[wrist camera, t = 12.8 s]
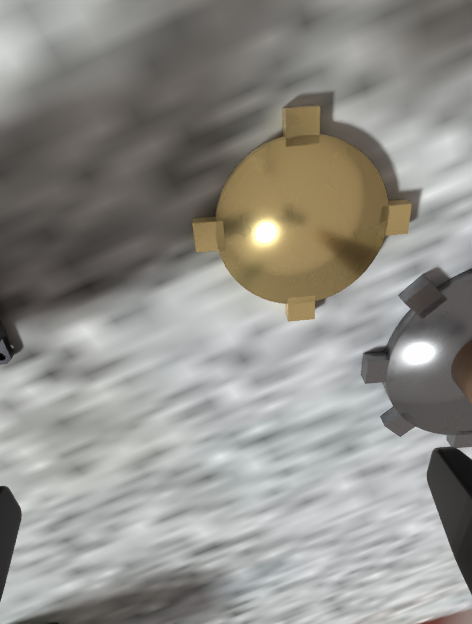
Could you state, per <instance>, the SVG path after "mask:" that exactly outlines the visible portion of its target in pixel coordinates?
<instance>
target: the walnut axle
mask: <svg viewBox="0 0 472 624" xmlns="http://www.w3.org/2000/svg"><path fill="white" fill-rule="evenodd" d="M451 376H452V378H453V380H454V382H455V383H456V385H457V386H458V387H459V388H460V390H461V391H462V392H463V394H464V395H465V396H466V397H467V399H468V400H469V401H470V403H471V404H472V340H471V341H469V342H468V343H467V344H465V345H464V346H463V347H462V348H461V349H460V351H459V352H458V353H457V355H456V356H455V358H454V360H453V363H452V366H451Z"/></svg>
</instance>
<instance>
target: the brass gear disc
mask: <svg viewBox="0 0 472 624" xmlns="http://www.w3.org/2000/svg"><path fill="white" fill-rule="evenodd" d="M282 109H283V136H281V137H277V138H274V139H272V140H270V141H268V142H266V143H264V144H262V145H261V146H259V147H257V148H256V149H254V150H253V151H252V152H250V153H249V154H248V155H247V156H246V157H244V158H243V159H242V160H241V162H240V163H239V164H238V165H237V166H236V167H235V168H234V170H233V171H232V173H231V174H230V175H229V177H228V179H227V181H226V182H225V184H224V186H223V188H222V191H221V194H220V196H219V200H218V204H217V208H216V216H212V217H201V218H193V222H192V226H193V233H194V241H195V248H196V252H207V251H218V250H219V253H220V256H221V258H222V260H223V262H224V264H225V266H226V268H227V269H228V271H229V272H230V274H231V275H232V276H233V277H234V279H235V280H236V281H237V282H238V283H239V284H240V285H242V286H243V287H244V288H245V289H247V290H248V291H250V292H251V293H253V294H255V295H257V296H259V297H261V298H263V299H266V300H269V301H273V302H278V303H285V304H286V316H287V320H288V321H298V320H309V319H315V301H318V300H322V299H325V298H327V297H330V296H332V295H334V294H336V293H338V292H340V291H342V290H343V289H345V288H346V287H348V286H349V285H351V284H352V283H353V282H354V281H355V280H357V279H358V278H359V277H360V276H361V275H362V274H363V273H364V272H365V271H366V270H367V268H368V267H369V266H370V264H371V263H372V262H373V260H374V259H375V257H376V255H377V254H378V252H379V250H380V247H381V245H382V243H383V240H384V237H385V235H397V234H408V228H409V221H410V214H411V208H412V204H411V203H410V202H408V201H407V200H405V199H402V200H391V201H388V197H387V192H386V188H385V185H384V183H383V180H382V178H381V176H380V174H379V172H378V171H377V169H376V167H375V166H374V165H373V164H372V162H371V161H370V160H369V159H368V158H367V157H366V156H365V155H364V154H363V153H362V152H361V151H359V150H358V149H356V148H355V147H353V146H352V145H350V144H348V143H346V142H344V141H342V140H340V139H338V138H335V137H332V136H329V135H325V134H320V106H318V105H310V106H299V107H288V108H282Z"/></svg>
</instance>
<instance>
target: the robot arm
mask: <svg viewBox="0 0 472 624" xmlns="http://www.w3.org/2000/svg"><path fill="white" fill-rule="evenodd" d="M5 334H6V332H5V329H4V327H3V325H2V323H1V320H0V353H2V354H4V355H5V356H2V355H1V354H0V364H7V363H8V362H10V360H11V359H12V357H13V355H14V354H13V350H12V348H11V346H10V344H9V341H8V339H7V337H6V335H5ZM427 481H428V485H429V488H430V491H431V493H432V496H433V499H434V502H435V505H436V507H437V510H438V513H439V516H440V519H441V521H442V524H443V527H444V530H445V533H446V535H447V538H448V541H449V544H450V547H451V549H452V552H453V554H454V557H455V560H456V562H457V564H458V566H459V569H460V571H461V573H462V575H463V577H464V579H465V582H466V584H467V586H468V588H469V590H470V592H471V594H472V459H470V458H469V457H468V456H466V455H465V454H464V453H463V452H461V451H460V450H458V449H457V448H455V447H440V448H435V449H434V450H433V452H432V455H431V459H430V463H429V466H428V470H427ZM21 516H22V515H21V508H20V506H19V504H18V503H17V501H16V499H15V498H14V496H13V494H12V492H11V491H10V489H9V488H8V487H6V486H0V601H1V598H2V594H3V590H4V587H5V583H6V579H7V575H8V571H9V567H10V563H11V559H12V555H13V551H14V547H15V543H16V539H17V535H18V530H19V526H20V522H21Z"/></svg>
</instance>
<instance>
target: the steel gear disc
mask: <svg viewBox="0 0 472 624" xmlns="http://www.w3.org/2000/svg"><path fill="white" fill-rule="evenodd" d="M398 296H399V297H400V298H401V299H402V301H403V302H404V303H405V304H406V305H407V306H408V307H409V308H411V310H410V311H409V312H408V313H407V314H406V315H405V316H404V318H403V319H402V320H401V322H400V323H399V324H398V326H397V327H396V329H395V330H394V332H393V334H392V336H391V338H390V340H389V342H388V344H387V347H386V350H385V352H375V353H364V354H363V361H362V370H361V376H362V378H363V380H364V382H365V384H367V383H378V382H383V385H384V388H385V391H386V393H387V395H388V397H389V399H390V400H391V402H392V404H393V406H394V407H393V408H392V409H390V410H389V411H388V412H386V413H385V414H383V415H382V416H381V419H382V421H383V423H384V425H385V427H387V428H388V429H390V430H391V431H393V432H394V433H395V434H397V435H398V436H400V437H401V436H402V435H404V434H405V433H407V432H408V431H409V430H411V429H412V428H414V427H415V426H416V427H418V428H421V429H423V430H426V431H429V432H433V433H438V434H444V435H447V438H446V439H447V441H448V442H449V444H450V446H451V447H455V448H462V447H472V404H471V403H470V401H469V400H468V399H467V397H466V396H465V395H464V394H463V392H462V391H461V390H460V388H459V387H458V386H457V385H456V383H455V382H454V380H453V378H452V376H451V366H452V363H453V360H454V358H455V356H456V355H457V353H458V352H459V351H460V349H461V348H462V347H463V346H464V345H465V344H467V343H468V342H469V341H471V340H472V270H469V271H467V272H464V273H462V274H460V275H458V276H456V277H454V278H452V279H450V280H448V281H447V282H445V283H443V284H442V285H440V286H438V287H437V288H436V287H435V286H434V285H433V284H432V283H431V282H430V281H429V280H428V279H427V278H426V277H425V276H424V275H422V276H421V277H419V278H418V279H417V280H416V281H415V282H414V283H412V284H411V285H410V286H409V287H408V288H407V289H405V290H404V291H403V292H402V293H401V294H400V295H398Z"/></svg>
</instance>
